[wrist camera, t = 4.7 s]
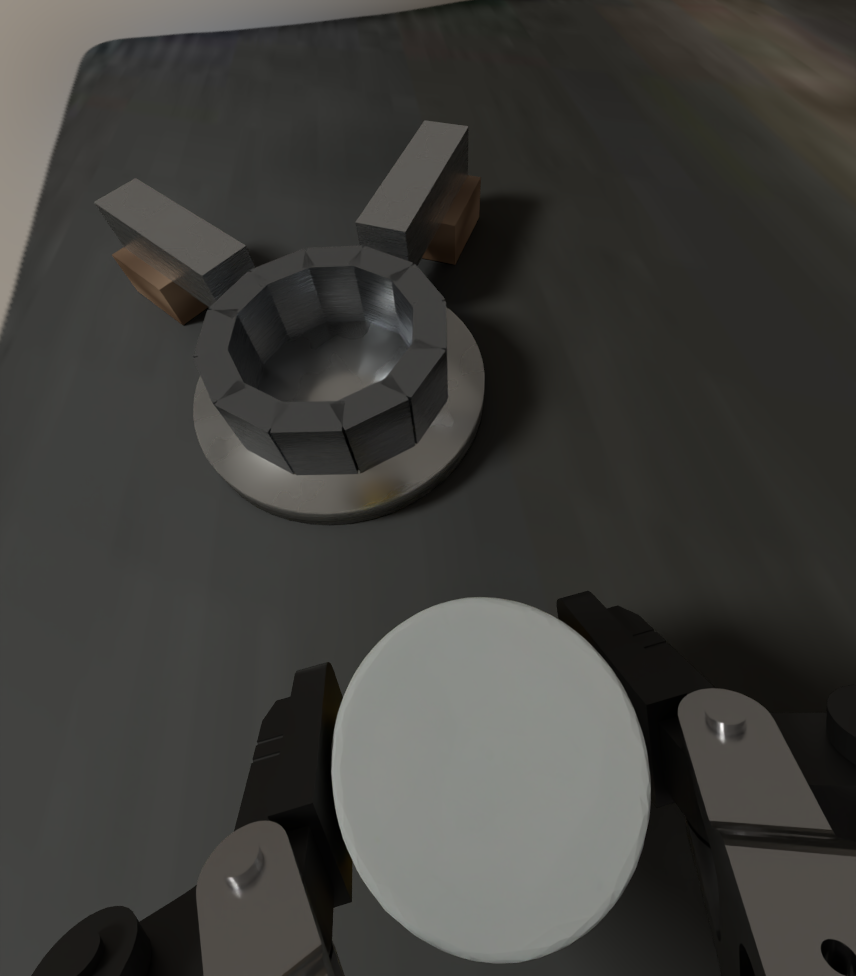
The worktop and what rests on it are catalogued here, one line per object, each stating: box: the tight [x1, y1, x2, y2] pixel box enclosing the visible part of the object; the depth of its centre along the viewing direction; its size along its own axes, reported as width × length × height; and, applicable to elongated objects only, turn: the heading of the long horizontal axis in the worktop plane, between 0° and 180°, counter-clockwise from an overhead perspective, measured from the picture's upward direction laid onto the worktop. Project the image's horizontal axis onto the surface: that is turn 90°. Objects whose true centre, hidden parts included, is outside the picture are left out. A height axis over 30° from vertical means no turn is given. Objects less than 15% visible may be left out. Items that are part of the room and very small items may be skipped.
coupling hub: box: [193, 246, 485, 525], centre depth 19 cm, size 12×12×4 cm
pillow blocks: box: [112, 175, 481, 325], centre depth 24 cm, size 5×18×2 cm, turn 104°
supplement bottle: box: [330, 597, 651, 963], centre depth 10 cm, size 5×5×10 cm
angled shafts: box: [94, 121, 469, 307], centre depth 22 cm, size 14×14×2 cm
